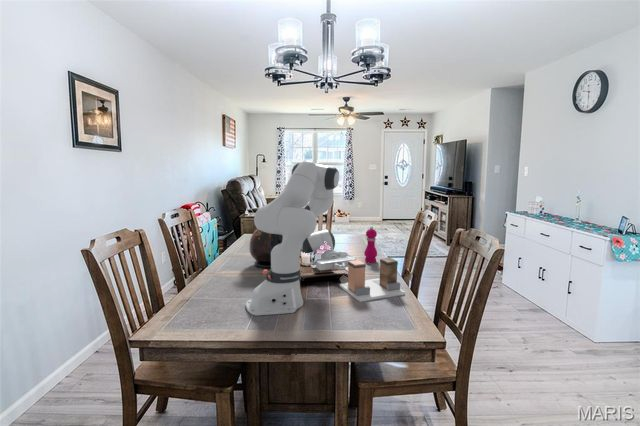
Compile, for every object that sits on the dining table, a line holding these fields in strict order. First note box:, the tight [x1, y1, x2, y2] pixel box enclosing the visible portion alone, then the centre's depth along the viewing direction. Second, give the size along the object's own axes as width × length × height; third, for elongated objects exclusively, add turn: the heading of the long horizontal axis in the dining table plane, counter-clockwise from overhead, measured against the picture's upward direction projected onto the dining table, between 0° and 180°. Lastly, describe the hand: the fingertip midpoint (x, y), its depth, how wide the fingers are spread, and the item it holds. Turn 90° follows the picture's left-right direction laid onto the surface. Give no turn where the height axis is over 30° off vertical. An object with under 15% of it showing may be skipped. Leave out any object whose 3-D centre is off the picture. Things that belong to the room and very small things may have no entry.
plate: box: [339, 277, 406, 303], centre depth 157 cm, size 22×19×4 cm
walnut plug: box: [379, 257, 399, 288], centre depth 157 cm, size 5×6×12 cm
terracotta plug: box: [347, 259, 366, 292], centre depth 153 cm, size 5×6×12 cm
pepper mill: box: [363, 226, 378, 264], centre depth 200 cm, size 7×7×20 cm
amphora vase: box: [248, 228, 283, 270], centre depth 191 cm, size 22×22×28 cm
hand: (342, 267), depth 166 cm, fingers closed
